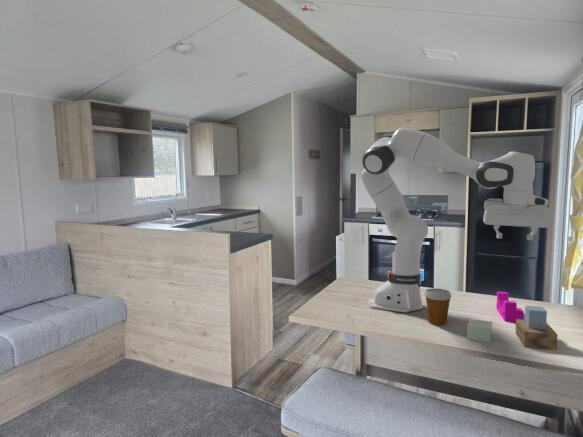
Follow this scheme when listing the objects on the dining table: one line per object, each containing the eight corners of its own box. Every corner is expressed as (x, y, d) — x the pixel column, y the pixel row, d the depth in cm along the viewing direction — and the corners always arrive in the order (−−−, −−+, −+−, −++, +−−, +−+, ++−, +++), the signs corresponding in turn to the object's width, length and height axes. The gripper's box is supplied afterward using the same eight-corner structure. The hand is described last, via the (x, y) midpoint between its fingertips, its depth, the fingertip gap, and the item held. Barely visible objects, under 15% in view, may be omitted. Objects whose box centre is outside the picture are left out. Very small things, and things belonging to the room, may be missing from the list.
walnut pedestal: (524, 346, 128) (524, 331, 128) (515, 333, 139) (516, 319, 139) (556, 349, 125) (557, 334, 125) (545, 335, 137) (545, 321, 136)
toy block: (523, 323, 149) (524, 303, 148) (504, 321, 151) (505, 302, 150) (513, 310, 164) (513, 292, 163) (496, 309, 165) (497, 291, 165)
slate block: (528, 328, 131) (529, 310, 130) (524, 322, 135) (525, 305, 135) (546, 329, 129) (546, 311, 129) (541, 324, 134) (542, 306, 133)
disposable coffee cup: (453, 327, 145) (454, 295, 144) (426, 326, 147) (426, 294, 146) (448, 318, 155) (448, 288, 154) (422, 317, 156) (422, 287, 155)
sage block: (467, 339, 135) (467, 325, 135) (469, 332, 141) (469, 318, 141) (490, 343, 132) (490, 328, 131) (491, 335, 138) (491, 321, 137)
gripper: (485, 198, 137) (482, 238, 138) (554, 200, 131) (550, 242, 132) (482, 197, 143) (480, 235, 144) (548, 199, 137) (544, 239, 138)
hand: (514, 239), depth 138 cm, fingers open, 8 cm apart
